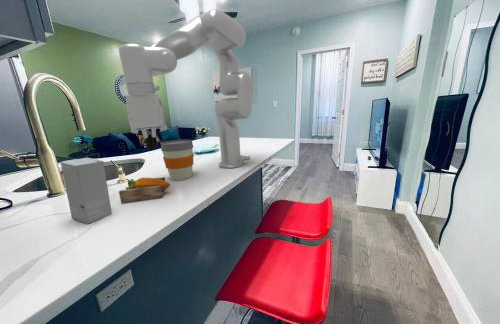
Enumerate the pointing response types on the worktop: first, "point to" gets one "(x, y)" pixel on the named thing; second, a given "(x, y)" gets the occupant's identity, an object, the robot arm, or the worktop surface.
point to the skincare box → (86, 189)
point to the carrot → (148, 183)
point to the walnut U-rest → (141, 193)
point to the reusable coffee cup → (178, 158)
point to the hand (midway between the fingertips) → (153, 149)
